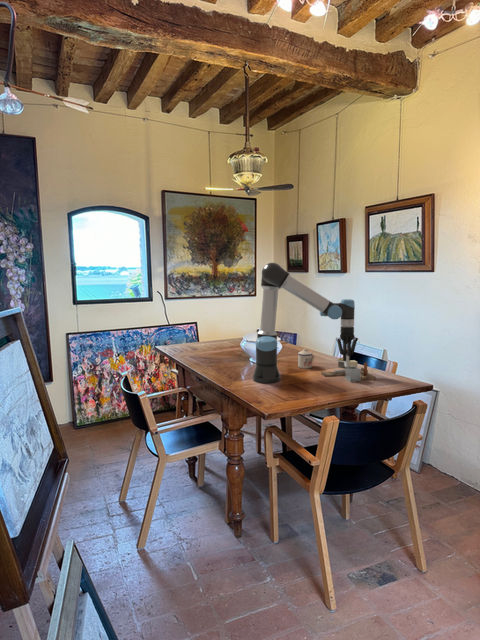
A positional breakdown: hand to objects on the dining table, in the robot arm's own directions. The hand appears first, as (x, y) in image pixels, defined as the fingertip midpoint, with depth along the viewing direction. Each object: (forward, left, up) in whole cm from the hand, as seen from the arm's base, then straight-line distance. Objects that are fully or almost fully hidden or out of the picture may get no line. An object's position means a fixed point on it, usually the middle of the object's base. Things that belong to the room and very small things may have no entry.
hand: (346, 366), depth 225 cm
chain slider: (-1, 0, -3) cm, 3 cm away
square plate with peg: (+7, -10, -5) cm, 13 cm away
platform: (+5, +14, -5) cm, 16 cm away
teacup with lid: (-16, +22, -5) cm, 28 cm away
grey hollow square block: (-2, -13, -5) cm, 14 cm away
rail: (-2, 0, -5) cm, 5 cm away
